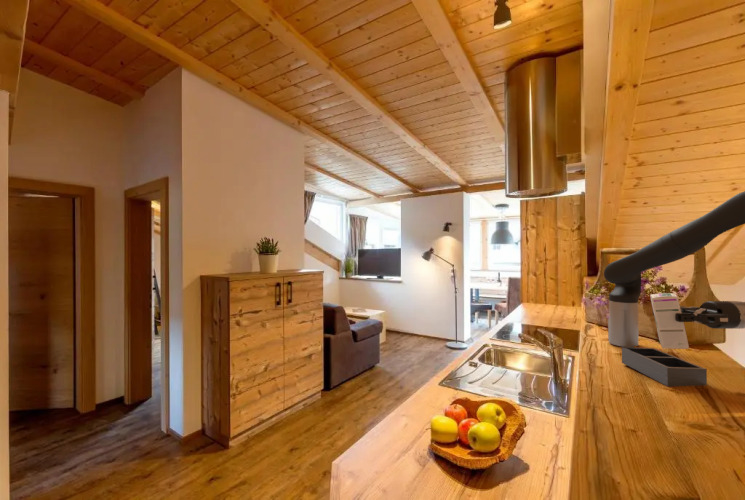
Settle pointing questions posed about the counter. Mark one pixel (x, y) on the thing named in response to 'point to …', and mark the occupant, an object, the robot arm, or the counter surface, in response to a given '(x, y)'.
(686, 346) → the syrup box
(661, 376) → the caddy
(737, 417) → the counter surface
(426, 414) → the counter surface
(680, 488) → the counter surface
